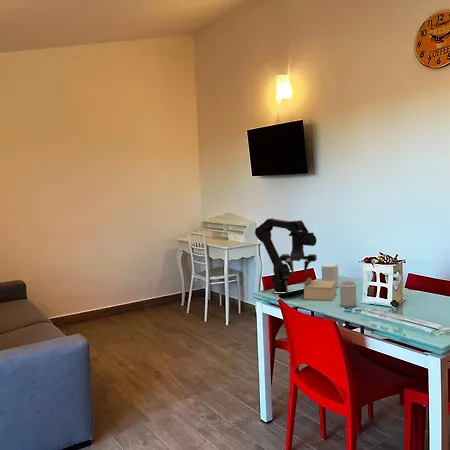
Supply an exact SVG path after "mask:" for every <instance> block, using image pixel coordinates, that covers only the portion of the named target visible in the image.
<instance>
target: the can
mask: <svg viewBox="0 0 450 450" xmlns="http://www.w3.org/2000/svg"><path fill="white" fill-rule="evenodd" d="M339 299H340V303H339V304H340V305H341V306H342V307H344V308H354V307H356V305H357V285H356V283H355V281H354V280H350V279H346V280H345V279H344V280H342V281H341V282H340V283H339Z"/></svg>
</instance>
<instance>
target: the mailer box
mask: <svg viewBox="0 0 450 450" xmlns="http://www.w3.org/2000/svg"><path fill="white" fill-rule="evenodd" d="M336 295H337V288H336V283H335V285H334V287H333V288H332V289H312V288H303V297H304V300H305V301H323V302H324V301H325V302H326V301H328V302H333V300H334V298H335V296H336Z"/></svg>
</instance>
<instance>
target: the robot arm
mask: <svg viewBox="0 0 450 450" xmlns="http://www.w3.org/2000/svg"><path fill="white" fill-rule="evenodd" d="M274 228H280V229H286V230H287V231H288V232H290V233H289V234H288V236H289V237H291V252H290V254H289V253H286V254H285V253H283V254H281V255H279V253H278V251H277V249H276V247H275V245H274V242H273V240H272V231H273V229H274ZM254 235H255V236H256V238H257V240H259V241H260V242H261V243H262V244H263V246H264V248H265V251H266V253H267V254H268V257H269V259H270V260H271V263H272V265H273V268H272V269H273V275H272V276H271V278H270V281H271V283H273V292H274V291H276V292H286V293H287V292H288V290H289V289H288V283H287V281H289V279H290V276H291V274H292V275H293V274H294V262H296V261H297V262H300V261H301V260H305V261H304V262H303V263H304V267H303V268H304V269H303V274H304V275H306V273H307V269H308V266H309V264H311V262H316V261H317V260H318V257H317V254H313V253H312V254H308V255H305V253H304V246H309V247H314V246H316V244H317V238H316V237H317V236H315V233H314V232H309V229H308V228H307V227H306V225H305V223H304V221H303V220H282V219H276V218H267V219H266V220H264V222H262V223H261V224H260V225H259V226H257V227H256V228H255V231H254Z"/></svg>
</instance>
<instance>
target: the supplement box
mask: <svg viewBox="0 0 450 450" xmlns="http://www.w3.org/2000/svg"><path fill="white" fill-rule="evenodd" d="M338 266H339V264H335V263H334V264H333V263H332V264H331V263H325V264H323V265H321V281H336V289H337V288H338V287H340V283H339V267H338Z"/></svg>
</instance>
